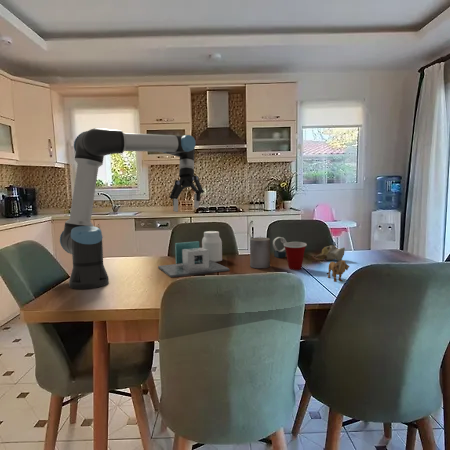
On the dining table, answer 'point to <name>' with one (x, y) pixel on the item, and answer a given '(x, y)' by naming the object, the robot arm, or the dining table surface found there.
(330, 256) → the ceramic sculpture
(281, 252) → the watch
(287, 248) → the plastic cup
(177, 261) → the teal piece
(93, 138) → the robot arm
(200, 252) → the block
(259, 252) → the pillar candle
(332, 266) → the lion figurine
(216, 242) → the jar
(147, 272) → the dining table surface
